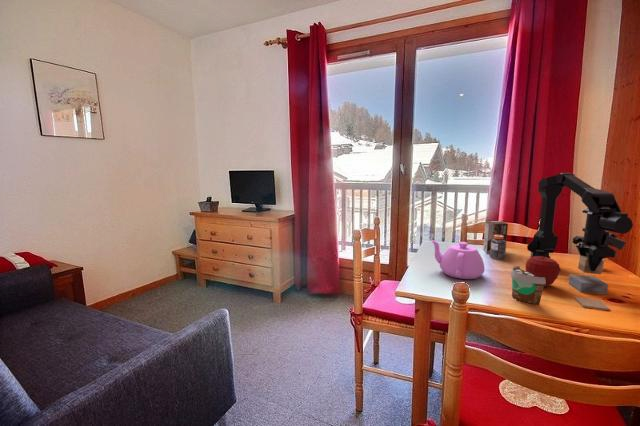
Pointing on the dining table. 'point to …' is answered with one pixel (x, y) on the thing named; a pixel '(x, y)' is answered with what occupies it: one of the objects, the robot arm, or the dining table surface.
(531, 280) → the food container
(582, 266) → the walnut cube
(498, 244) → the pill bottle
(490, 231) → the coffee box
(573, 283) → the grey flat block
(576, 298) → the tile
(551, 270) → the apple
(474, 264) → the pink pot
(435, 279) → the dining table surface
